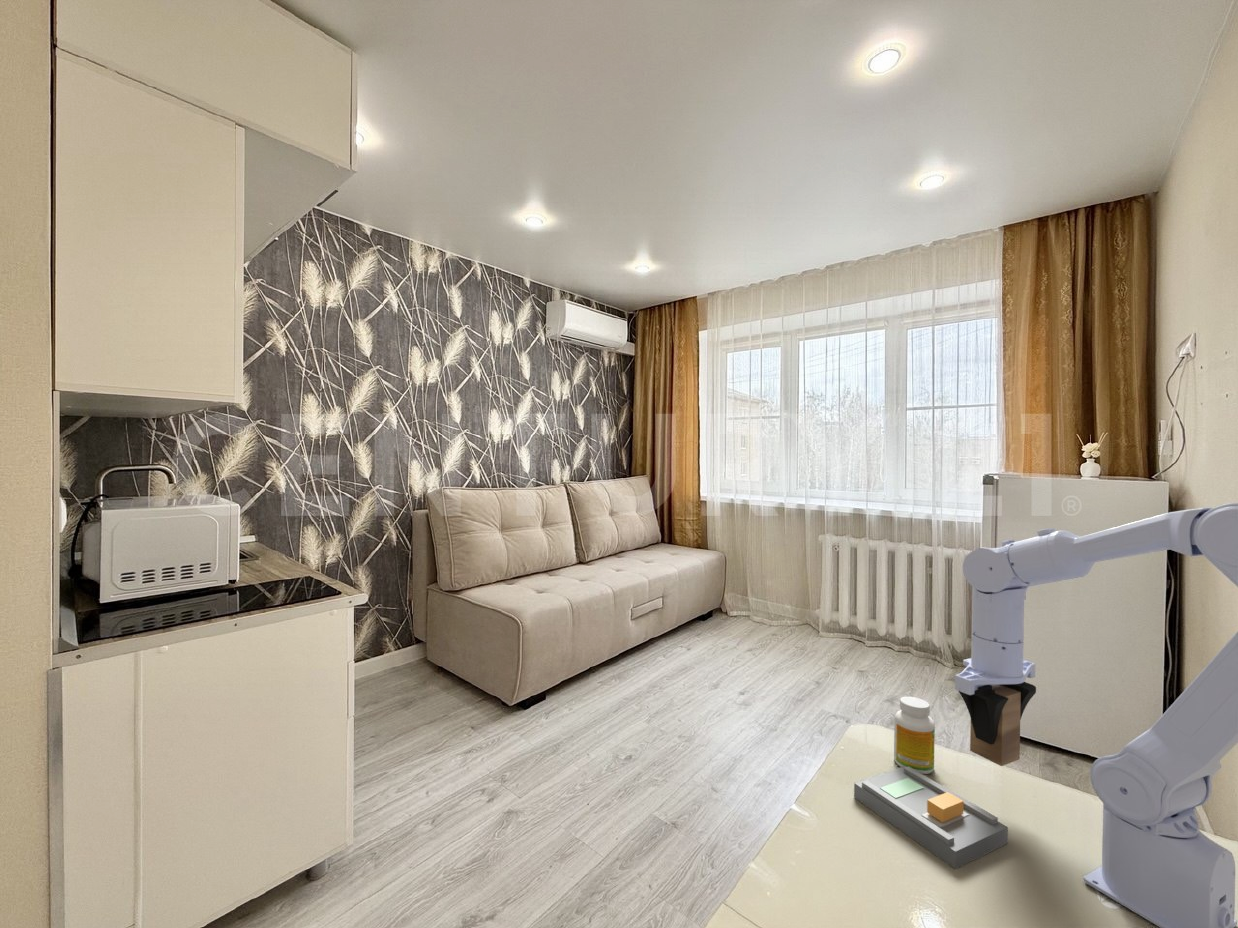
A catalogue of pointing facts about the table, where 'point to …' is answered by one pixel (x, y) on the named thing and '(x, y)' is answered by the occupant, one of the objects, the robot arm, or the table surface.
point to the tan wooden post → (1002, 731)
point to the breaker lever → (945, 806)
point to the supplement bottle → (914, 735)
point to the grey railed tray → (906, 809)
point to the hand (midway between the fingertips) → (995, 736)
